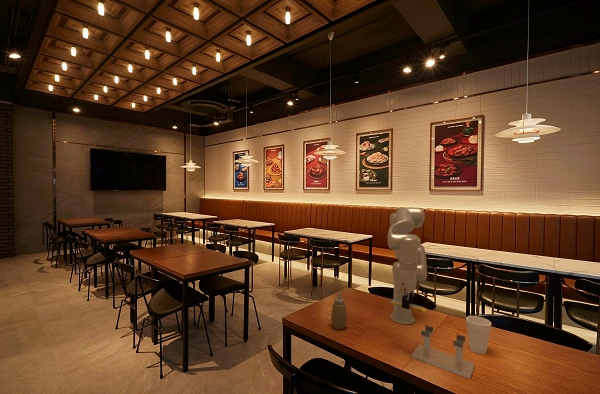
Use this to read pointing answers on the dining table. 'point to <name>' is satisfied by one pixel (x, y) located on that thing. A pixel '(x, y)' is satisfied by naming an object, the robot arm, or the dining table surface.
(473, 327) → the foam cup
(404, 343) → the dining table surface
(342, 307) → the squeeze bottle
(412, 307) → the candy bar
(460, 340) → the hook stand
